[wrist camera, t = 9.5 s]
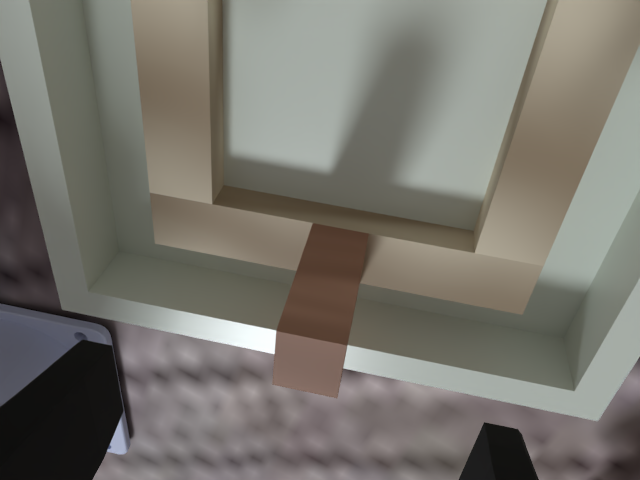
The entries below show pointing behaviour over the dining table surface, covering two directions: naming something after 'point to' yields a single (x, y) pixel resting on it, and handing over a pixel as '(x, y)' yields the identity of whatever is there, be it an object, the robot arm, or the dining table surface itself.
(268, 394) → the dining table surface
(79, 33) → the sage tray
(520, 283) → the birch frame
